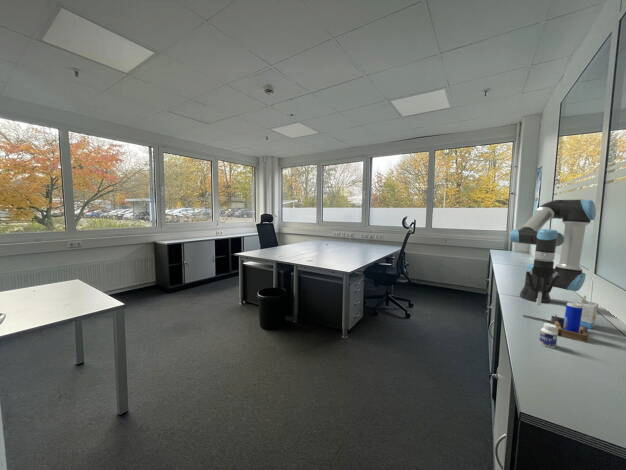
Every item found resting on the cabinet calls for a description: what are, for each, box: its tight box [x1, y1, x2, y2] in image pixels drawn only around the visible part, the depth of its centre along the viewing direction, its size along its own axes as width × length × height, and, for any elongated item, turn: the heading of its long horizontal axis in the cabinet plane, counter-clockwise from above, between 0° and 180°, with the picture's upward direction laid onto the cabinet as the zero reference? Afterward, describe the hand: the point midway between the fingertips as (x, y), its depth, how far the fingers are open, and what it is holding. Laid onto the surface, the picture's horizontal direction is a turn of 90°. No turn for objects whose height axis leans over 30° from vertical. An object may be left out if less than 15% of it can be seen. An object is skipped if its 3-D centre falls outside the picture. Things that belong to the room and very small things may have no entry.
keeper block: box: [522, 314, 589, 343], centre depth 124 cm, size 17×23×3 cm
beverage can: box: [562, 301, 583, 333], centre depth 118 cm, size 5×5×15 cm
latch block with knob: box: [550, 314, 565, 328], centre depth 126 cm, size 2×10×5 cm, turn 52°
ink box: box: [580, 294, 599, 330], centre depth 129 cm, size 8×5×15 cm, turn 123°
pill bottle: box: [538, 322, 559, 349], centre depth 108 cm, size 5×5×9 cm
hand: (538, 304), depth 133 cm, fingers closed
